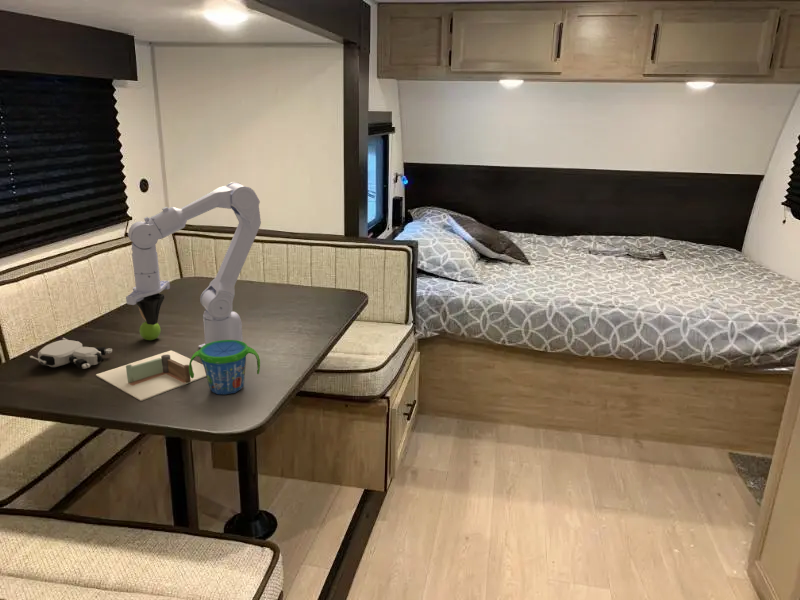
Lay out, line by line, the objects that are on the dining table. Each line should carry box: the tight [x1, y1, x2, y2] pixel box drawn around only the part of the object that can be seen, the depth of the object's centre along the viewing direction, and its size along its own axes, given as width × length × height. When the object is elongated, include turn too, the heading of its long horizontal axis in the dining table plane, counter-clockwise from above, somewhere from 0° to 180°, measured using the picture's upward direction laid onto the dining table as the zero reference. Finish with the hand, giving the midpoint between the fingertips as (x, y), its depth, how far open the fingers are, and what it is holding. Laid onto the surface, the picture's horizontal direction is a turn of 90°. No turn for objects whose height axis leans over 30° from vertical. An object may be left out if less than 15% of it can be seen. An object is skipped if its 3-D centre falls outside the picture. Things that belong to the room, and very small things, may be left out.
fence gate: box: [126, 358, 163, 383], centre depth 144 cm, size 1×8×4 cm, turn 138°
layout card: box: [95, 350, 207, 402], centre depth 148 cm, size 20×20×1 cm
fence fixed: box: [161, 355, 192, 384], centre depth 146 cm, size 2×10×4 cm, turn 52°
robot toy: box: [29, 337, 113, 370], centre depth 153 cm, size 12×4×15 cm
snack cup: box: [189, 340, 261, 396], centre depth 140 cm, size 16×10×10 cm
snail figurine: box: [138, 306, 162, 341], centre depth 167 cm, size 5×6×12 cm
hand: (152, 323), depth 154 cm, fingers closed
